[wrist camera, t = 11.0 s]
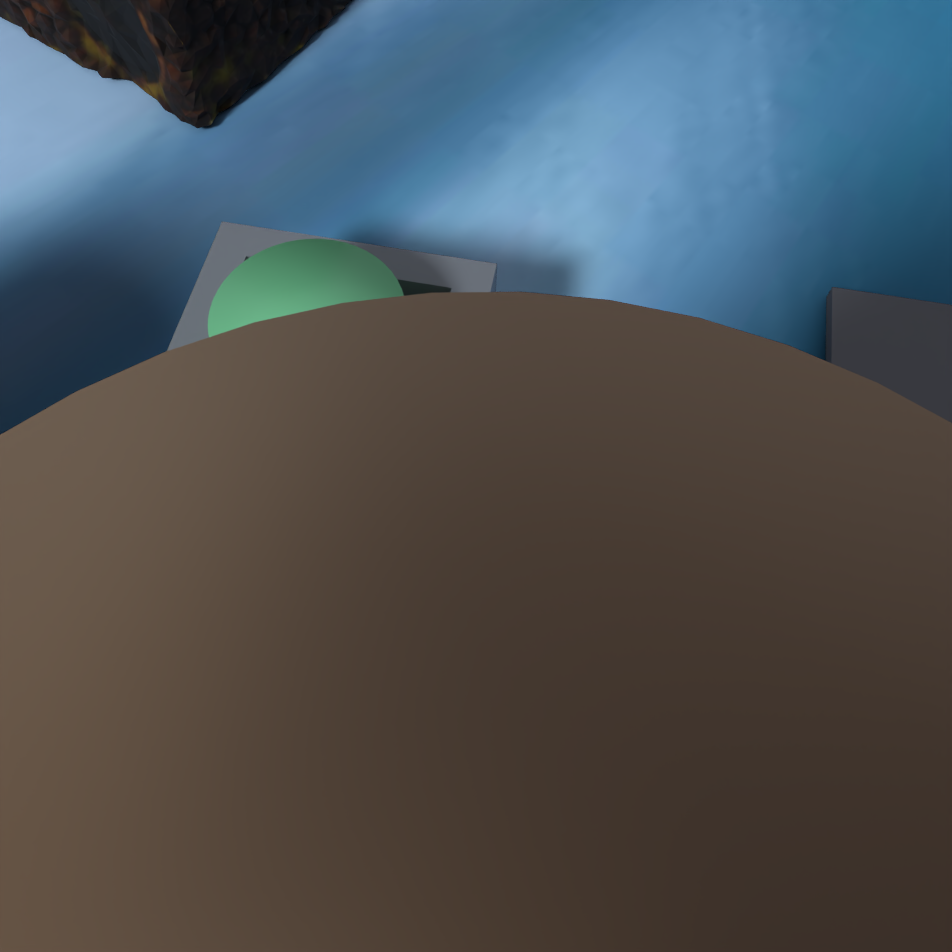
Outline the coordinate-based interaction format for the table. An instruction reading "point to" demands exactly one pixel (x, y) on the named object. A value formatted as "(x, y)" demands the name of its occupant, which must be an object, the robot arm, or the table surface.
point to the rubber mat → (894, 344)
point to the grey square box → (406, 265)
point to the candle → (177, 43)
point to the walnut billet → (477, 643)
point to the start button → (298, 282)
